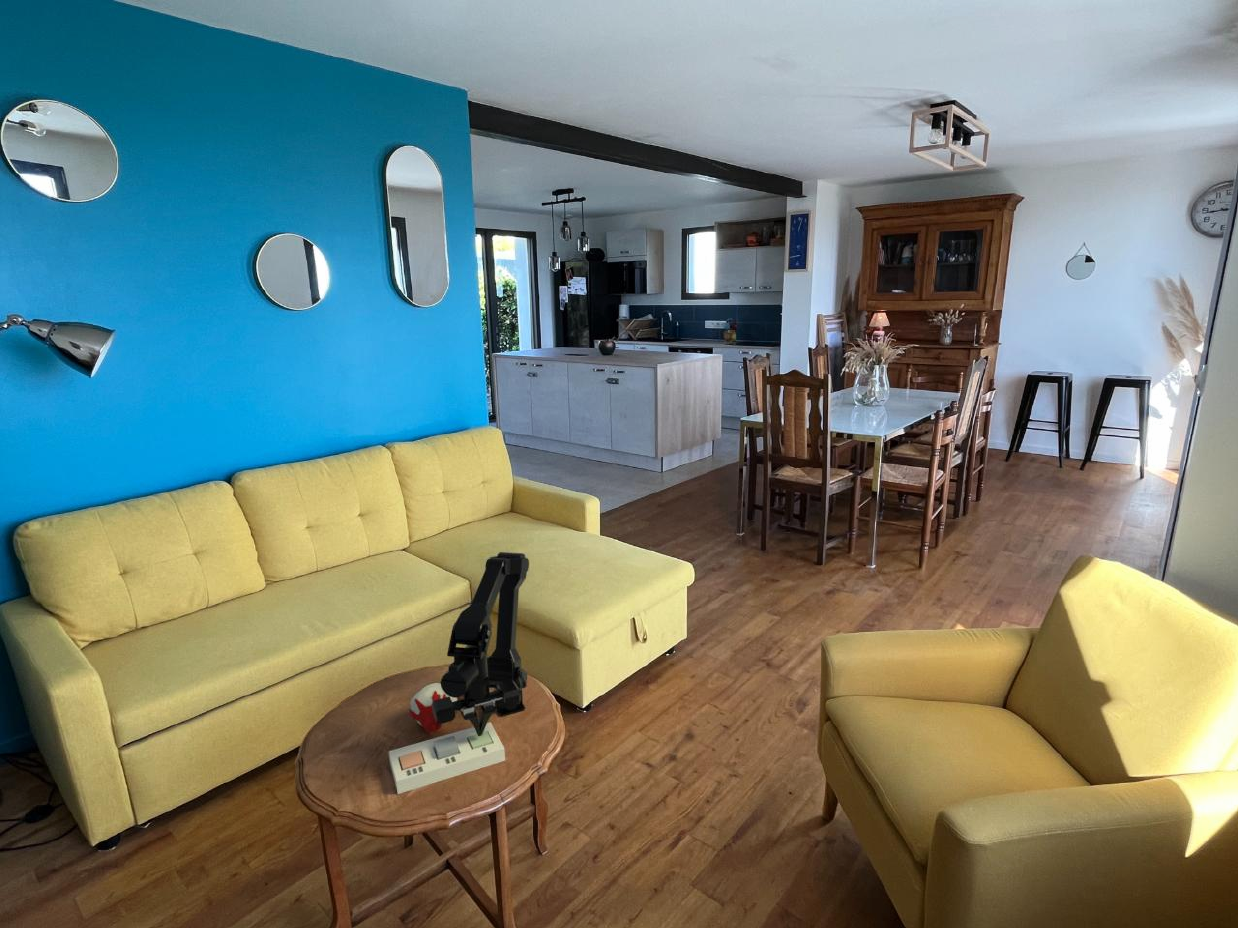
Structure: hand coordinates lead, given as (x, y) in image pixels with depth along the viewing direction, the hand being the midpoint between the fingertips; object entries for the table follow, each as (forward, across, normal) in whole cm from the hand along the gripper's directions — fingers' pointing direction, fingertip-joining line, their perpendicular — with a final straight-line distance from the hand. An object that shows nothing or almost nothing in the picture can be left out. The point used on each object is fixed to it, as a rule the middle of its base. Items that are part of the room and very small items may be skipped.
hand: (479, 734), depth 154 cm
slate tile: (+2, +7, 0) cm, 8 cm away
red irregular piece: (+5, +7, -16) cm, 18 cm away
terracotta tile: (+3, +15, 0) cm, 15 cm away
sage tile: (+3, 0, 0) cm, 3 cm away
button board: (+4, +7, 0) cm, 9 cm away
